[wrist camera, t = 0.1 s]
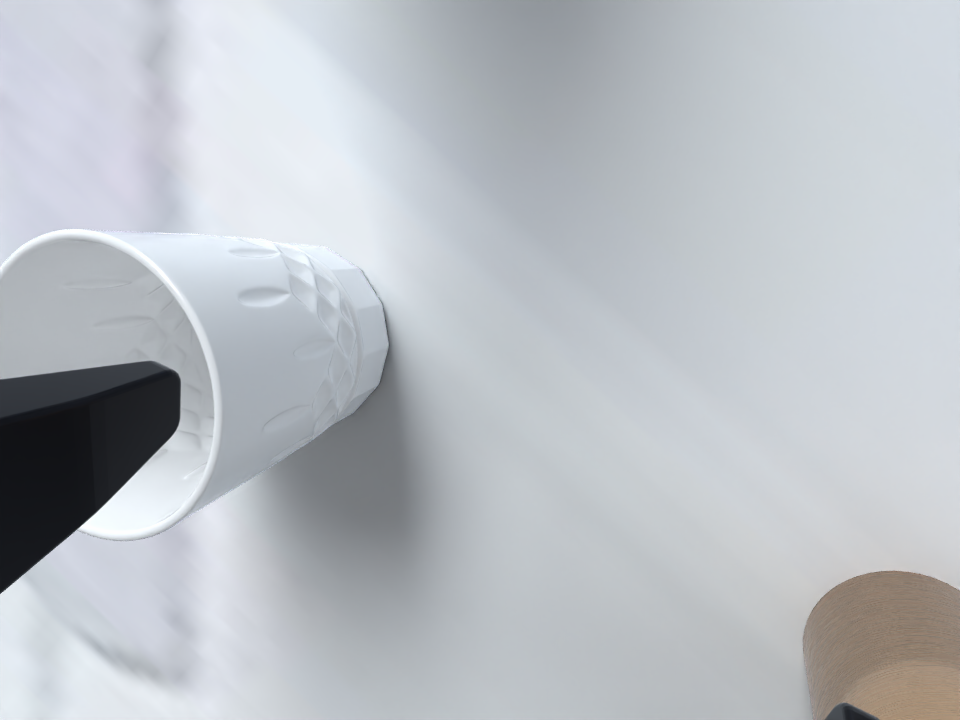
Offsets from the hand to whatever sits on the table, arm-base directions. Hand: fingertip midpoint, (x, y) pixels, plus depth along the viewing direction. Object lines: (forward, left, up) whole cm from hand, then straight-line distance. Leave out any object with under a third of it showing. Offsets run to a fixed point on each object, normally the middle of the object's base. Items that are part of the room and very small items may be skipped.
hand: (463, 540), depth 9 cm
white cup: (-10, +6, -16) cm, 20 cm away
